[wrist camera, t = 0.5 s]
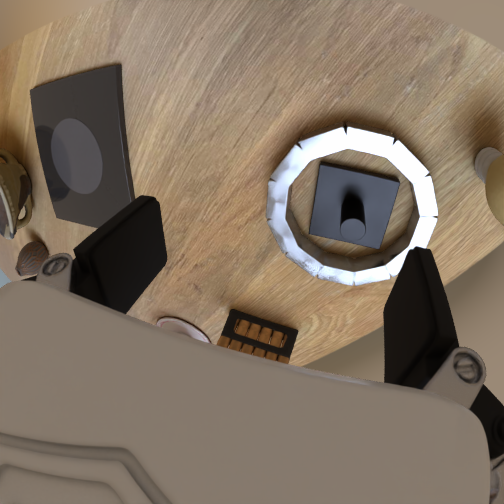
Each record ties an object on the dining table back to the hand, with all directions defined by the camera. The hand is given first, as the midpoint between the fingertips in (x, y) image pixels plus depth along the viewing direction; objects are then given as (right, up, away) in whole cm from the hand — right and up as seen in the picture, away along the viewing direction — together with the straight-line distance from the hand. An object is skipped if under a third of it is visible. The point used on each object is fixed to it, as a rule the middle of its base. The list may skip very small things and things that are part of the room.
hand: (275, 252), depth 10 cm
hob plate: (-26, +14, +24) cm, 38 cm away
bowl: (-46, +15, +32) cm, 58 cm away
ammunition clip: (+1, -11, +33) cm, 35 cm away
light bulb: (+23, +9, +10) cm, 26 cm away
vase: (-49, +1, +43) cm, 65 cm away
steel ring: (+10, +5, +18) cm, 21 cm away
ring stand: (+10, +5, +18) cm, 21 cm away
